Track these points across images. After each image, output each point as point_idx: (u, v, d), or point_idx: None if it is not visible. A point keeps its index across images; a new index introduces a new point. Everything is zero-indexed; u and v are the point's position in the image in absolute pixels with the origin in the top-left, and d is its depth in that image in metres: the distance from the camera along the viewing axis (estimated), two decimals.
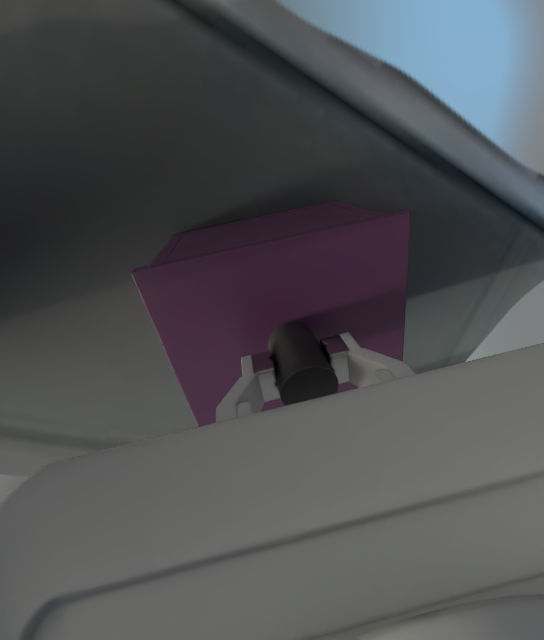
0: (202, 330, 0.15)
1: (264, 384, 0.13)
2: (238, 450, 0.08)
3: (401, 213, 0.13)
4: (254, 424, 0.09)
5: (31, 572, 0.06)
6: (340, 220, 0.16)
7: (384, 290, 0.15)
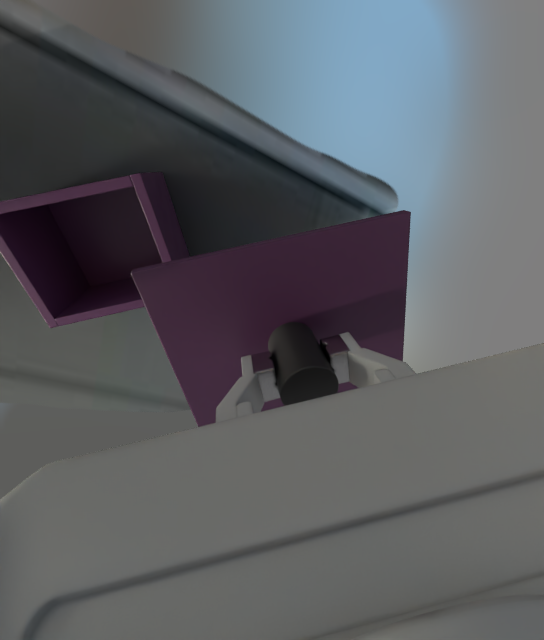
0: (202, 330, 0.15)
1: (264, 384, 0.13)
2: (238, 450, 0.08)
3: (401, 213, 0.13)
4: (254, 424, 0.09)
5: (31, 572, 0.06)
6: None
7: (384, 290, 0.15)
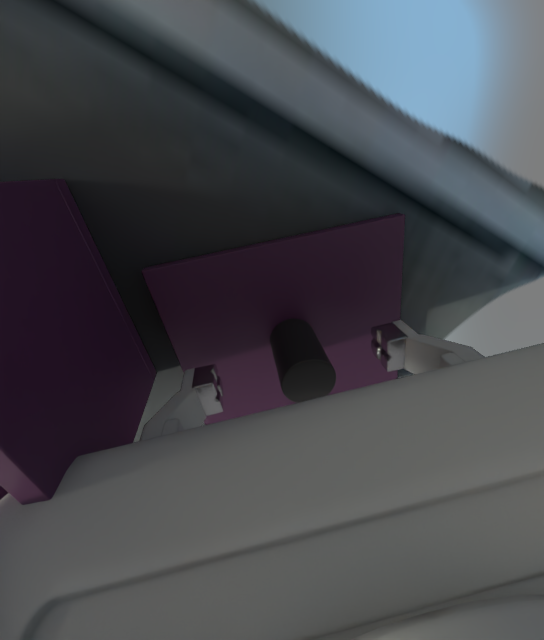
0: (207, 326, 0.15)
1: (204, 398, 0.13)
2: (238, 450, 0.08)
3: (396, 216, 0.14)
4: (254, 424, 0.09)
5: (31, 572, 0.06)
6: None
7: (379, 289, 0.16)
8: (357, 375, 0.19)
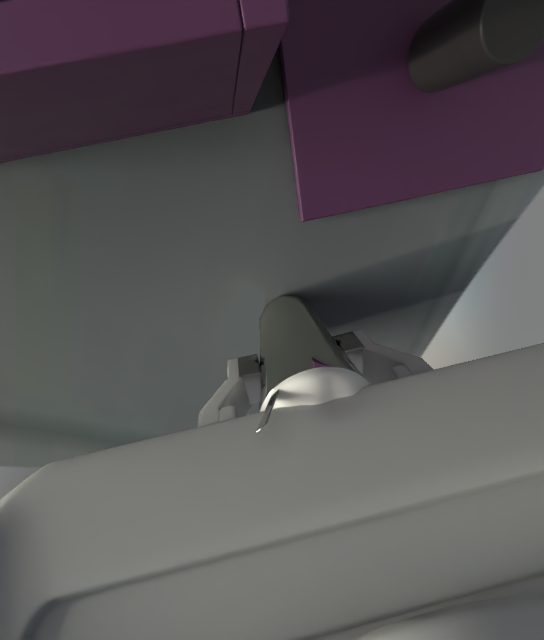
0: (333, 10, 0.11)
1: (250, 387, 0.13)
2: (238, 450, 0.08)
3: None
4: (254, 424, 0.09)
5: (32, 571, 0.06)
6: None
7: None
8: (500, 144, 0.14)
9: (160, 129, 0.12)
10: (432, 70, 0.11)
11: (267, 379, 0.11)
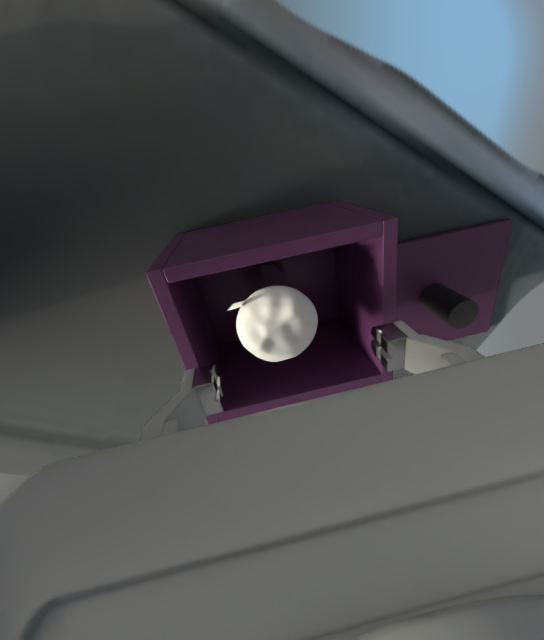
0: None
1: (204, 398, 0.13)
2: (238, 450, 0.08)
3: (507, 220, 0.24)
4: (254, 424, 0.09)
5: (32, 572, 0.06)
6: (341, 220, 0.16)
7: (490, 264, 0.26)
8: None
9: None
10: (430, 311, 0.26)
11: None
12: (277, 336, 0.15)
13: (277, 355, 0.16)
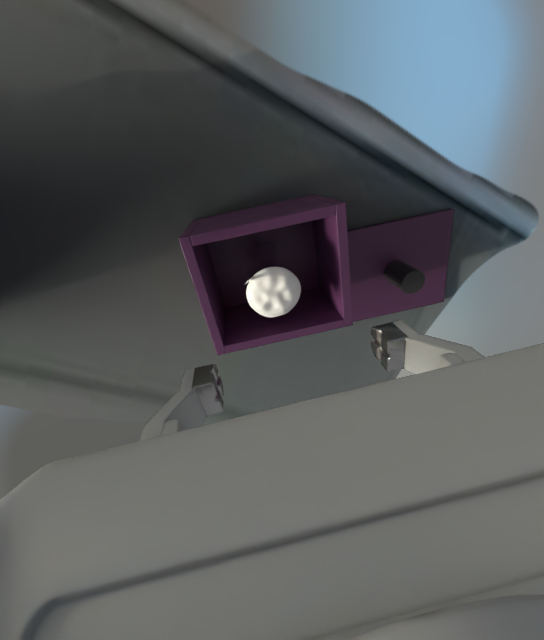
0: (357, 263, 0.32)
1: (204, 398, 0.13)
2: (238, 450, 0.08)
3: (450, 210, 0.31)
4: (254, 424, 0.09)
5: (31, 571, 0.06)
6: (310, 205, 0.23)
7: (439, 245, 0.33)
8: (423, 294, 0.35)
9: None
10: (391, 282, 0.32)
11: (250, 276, 0.24)
12: (274, 301, 0.23)
13: (273, 313, 0.24)
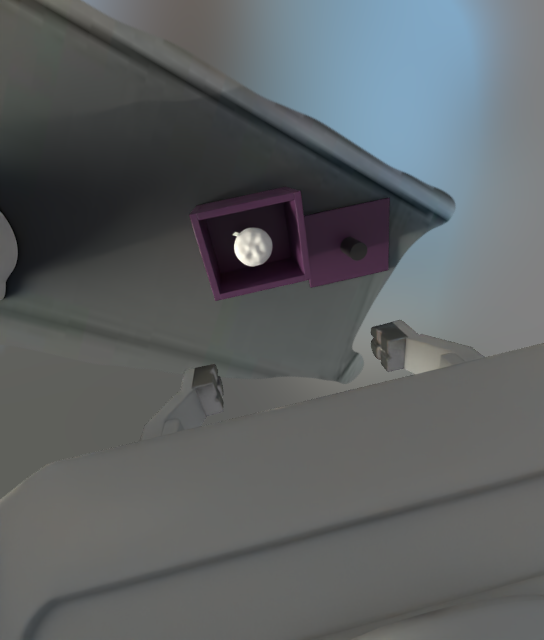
0: (319, 239, 0.43)
1: (204, 398, 0.13)
2: (238, 450, 0.08)
3: (386, 198, 0.42)
4: (254, 424, 0.09)
5: (32, 571, 0.06)
6: (278, 193, 0.33)
7: (381, 225, 0.43)
8: (372, 264, 0.46)
9: None
10: (345, 253, 0.43)
11: None
12: (253, 251, 0.33)
13: (253, 261, 0.34)
